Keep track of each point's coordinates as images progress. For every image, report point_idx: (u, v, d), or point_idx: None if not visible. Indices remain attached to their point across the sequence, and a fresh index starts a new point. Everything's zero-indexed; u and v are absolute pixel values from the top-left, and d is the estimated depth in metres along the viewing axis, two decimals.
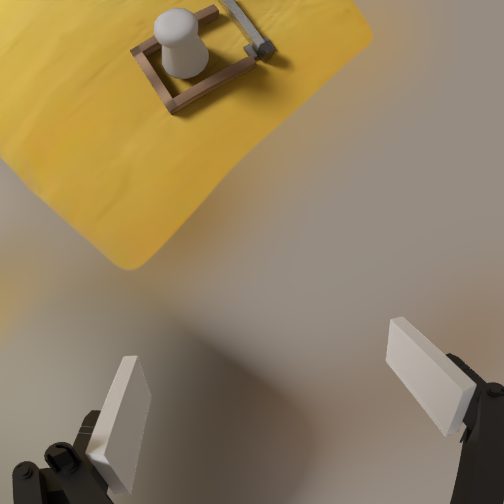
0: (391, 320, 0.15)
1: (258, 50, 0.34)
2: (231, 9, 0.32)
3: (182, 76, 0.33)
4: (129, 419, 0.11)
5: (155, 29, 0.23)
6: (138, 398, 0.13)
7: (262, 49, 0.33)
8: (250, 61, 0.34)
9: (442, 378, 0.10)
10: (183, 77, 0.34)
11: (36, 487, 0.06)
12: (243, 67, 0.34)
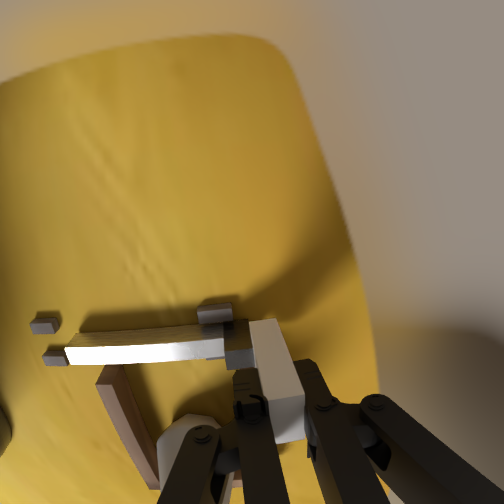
0: (262, 321, 0.17)
1: None
2: (111, 361, 0.17)
3: None
4: None
5: None
6: None
7: None
8: None
9: None
10: None
11: (209, 455, 0.09)
12: None
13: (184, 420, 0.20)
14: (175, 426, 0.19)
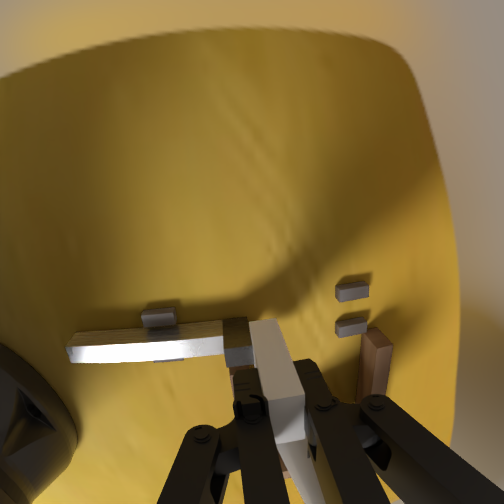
0: (262, 321, 0.17)
1: None
2: (111, 359, 0.17)
3: None
4: None
5: None
6: None
7: None
8: (386, 353, 0.19)
9: None
10: None
11: (209, 455, 0.09)
12: (388, 366, 0.19)
13: None
14: None
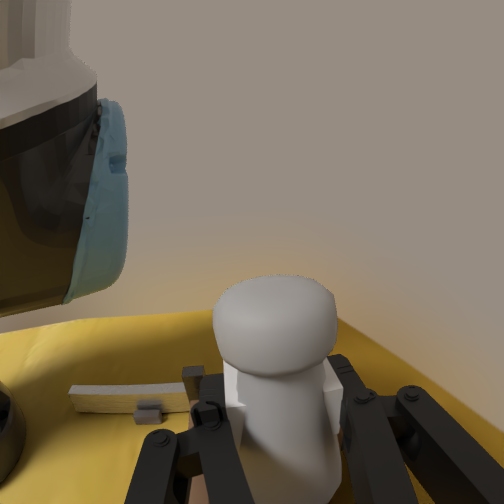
0: None
1: (189, 398, 0.21)
2: (100, 393, 0.21)
3: (338, 481, 0.12)
4: None
5: (264, 323, 0.09)
6: None
7: (192, 380, 0.21)
8: None
9: None
10: (338, 482, 0.12)
11: (168, 458, 0.08)
12: None
13: None
14: None
